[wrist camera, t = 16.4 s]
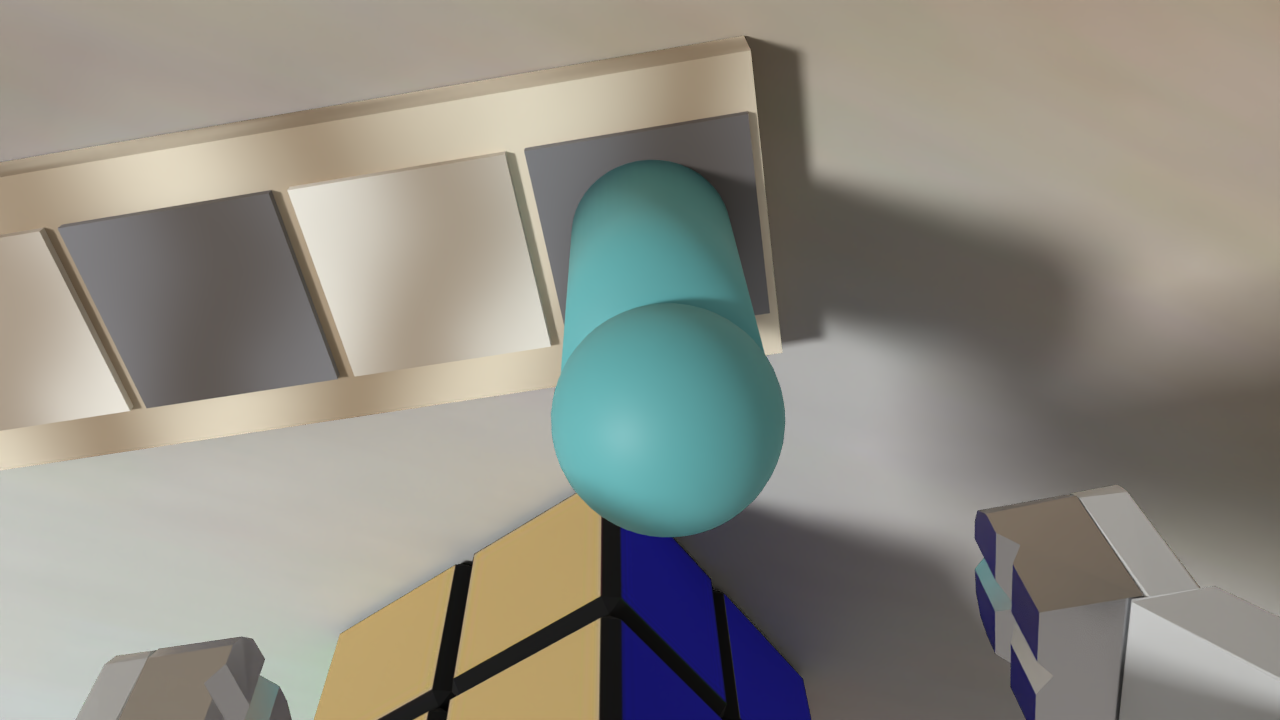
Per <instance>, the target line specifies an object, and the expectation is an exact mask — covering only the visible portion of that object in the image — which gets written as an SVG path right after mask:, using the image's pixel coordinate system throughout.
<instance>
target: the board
mask: <svg viewBox="0 0 1280 720" xmlns="http://www.w3.org/2000/svg"><path fill="white" fill-rule="evenodd" d="M642 160H663V161H670V162H674V163H677V164H681V165H683V166H685V167H688V168H690V169H692V170H693V171H695V172H697V173H699V174H700V175H701V176H702V177H704V178H705V179H706V180H707V181H708V182H709V183H710V184H711V185H712V186H713V187H714V188H715V189H716V191H717V192H718V193H719V195H720V196H721V198H722V200H723V202H724V204H725V207H726V209H727V212H728V215H729V219H730V223H731V227H732V231H733V234H734V238H735V242H736V246H737V250H738V253H739V257H740V261H741V265H742V269H743V273H744V276H745V280H746V284H747V288H748V292H749V295H750V299H751V303H752V307H753V311H754V314H755V318H756V322H757V326H758V330H759V333H760V337H761V341H762V345H763V349H764V352H765V355H771V354H778V353H782V344H781V335H780V325H779V316H778V306H777V297H776V287H775V277H774V268H773V258H772V249H771V239H770V230H769V220H768V210H767V201H766V191H765V182H764V172H763V163H762V153H761V143H760V134H759V124H758V115H757V105H756V96H755V86H754V76H753V67H752V57H751V50H750V48H749V45H748V43H747V41H746V39H745V37H744V36H740V37H734V38H728V39H722V40H716V41H710V42H704V43H698V44H693V45H687V46H681V47H675V48H669V49H663V50H657V51H651V52H646V53H640V54H634V55H628V56H622V57H616V58H610V59H604V60H599V61H593V62H587V63H581V64H575V65H569V66H563V67H557V68H552V69H546V70H540V71H534V72H528V73H522V74H516V75H510V76H505V77H499V78H493V79H487V80H481V81H475V82H469V83H463V84H458V85H452V86H446V87H440V88H434V89H428V90H422V91H416V92H411V93H405V94H399V95H393V96H387V97H381V98H375V99H369V100H364V101H358V102H352V103H346V104H340V105H334V106H328V107H322V108H317V109H311V110H305V111H299V112H293V113H287V114H281V115H275V116H270V117H264V118H258V119H252V120H246V121H240V122H234V123H228V124H223V125H217V126H211V127H205V128H199V129H193V130H187V131H181V132H176V133H170V134H164V135H158V136H152V137H146V138H140V139H134V140H129V141H123V142H117V143H111V144H105V145H99V146H93V147H87V148H82V149H76V150H70V151H64V152H58V153H52V154H46V155H40V156H35V157H29V158H23V159H17V160H11V161H5V162H0V470H6V469H13V468H20V467H26V466H33V465H40V464H46V463H53V462H60V461H66V460H73V459H80V458H86V457H93V456H100V455H106V454H113V453H119V452H126V451H133V450H139V449H146V448H153V447H159V446H166V445H173V444H179V443H186V442H193V441H199V440H206V439H213V438H219V437H226V436H233V435H239V434H246V433H252V432H259V431H266V430H272V429H279V428H286V427H292V426H299V425H306V424H312V423H319V422H326V421H332V420H339V419H346V418H352V417H359V416H366V415H372V414H379V413H385V412H392V411H399V410H405V409H412V408H419V407H425V406H432V405H439V404H445V403H452V402H459V401H465V400H472V399H479V398H485V397H492V396H498V395H505V394H512V393H518V392H525V391H532V390H538V389H545V388H552V387H556V385H557V382H558V379H559V377H560V375H561V364H562V350H563V337H564V324H565V311H566V298H567V285H568V272H569V258H570V245H571V232H572V224H573V219H574V215H575V211H576V209H577V207H578V204H579V202H580V201H581V199H582V197H583V196H584V194H585V193H586V191H587V190H588V189H589V188H590V187H591V185H592V184H594V183H595V182H596V181H597V180H598V179H599V178H600V177H602V176H603V175H604V174H606V173H607V172H609V171H611V170H613V169H615V168H617V167H619V166H622V165H624V164H627V163H631V162H635V161H642Z"/></svg>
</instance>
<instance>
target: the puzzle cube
mask: <svg viewBox="0 0 1280 720" xmlns="http://www.w3.org/2000/svg"><path fill="white" fill-rule="evenodd" d="M314 720H811V716H810V711H809V706H808V701H807V696H806V691H805V686H804V682H803V679H802V677H801V676H800V675H799V674H798V673H797V672H796V671H795V670H794V669H793V668H792V667H791V666H790V664H789V663H788V662H787V661H786V660H785V659H784V658H783V657H782V656H781V655H780V654H779V653H778V651H777V650H776V649H775V648H774V647H773V646H772V645H771V644H770V643H769V642H768V641H767V640H766V638H765V637H764V636H763V635H762V634H761V633H760V632H759V631H758V630H757V629H756V628H755V627H754V625H753V624H752V623H751V622H750V621H749V620H748V619H747V618H746V617H745V616H744V615H743V614H742V612H741V611H740V610H739V609H738V608H737V607H736V606H735V605H734V604H733V603H732V602H731V601H730V599H729V598H728V597H727V596H726V595H725V594H724V593H722V592H718V591H714V590H712V583H711V579H710V578H709V576H708V575H707V574H706V573H705V572H704V571H703V570H702V569H701V568H700V567H699V566H698V565H697V563H696V562H695V561H694V560H693V559H692V558H691V557H690V556H689V555H688V554H687V553H686V552H685V550H684V549H683V548H682V547H681V546H680V545H679V544H678V543H677V542H676V541H675V540H674V539H673V537H655V536H647V535H643V534H638V533H635V532H632V531H629V530H626V529H624V528H621V527H619V526H617V525H615V524H613V523H612V522H610V521H608V520H607V519H605V518H603V517H601V516H600V515H599V514H597V513H596V512H595V511H594V510H592V509H591V508H590V507H589V506H588V505H587V504H586V503H585V502H584V501H583V500H582V499H581V498H580V496H579V495H578V494H577V493H575V494H574V495H572V496H570V497H569V498H567V499H565V500H564V501H562V502H560V503H559V504H557V505H555V506H554V507H552V508H550V509H549V510H547V511H545V512H544V513H542V514H540V515H539V516H537V517H535V518H534V519H532V520H530V521H529V522H527V523H525V524H524V525H522V526H520V527H519V528H517V529H515V530H514V531H512V532H510V533H509V534H507V535H505V536H504V537H502V538H500V539H499V540H497V541H495V542H494V543H492V544H490V545H489V546H487V547H485V548H484V549H482V550H480V551H479V552H477V553H475V554H474V557H473V563H472V566H469V565H466V564H458V565H454V566H453V567H451V568H449V569H448V570H446V571H444V572H443V573H441V574H439V575H438V576H436V577H434V578H433V579H431V580H429V581H428V582H426V583H424V584H423V585H421V586H419V587H418V588H416V589H414V590H413V591H411V592H409V593H408V594H406V595H404V596H403V597H401V598H399V599H398V600H396V601H394V602H393V603H391V604H389V605H388V606H386V607H384V608H383V609H381V610H379V611H378V612H376V613H374V614H373V615H371V616H369V617H368V618H366V619H364V620H363V621H361V622H359V623H358V624H356V625H354V626H353V627H351V628H349V629H348V630H346V631H344V632H343V633H341V634H340V636H339V639H338V642H337V645H336V649H335V652H334V655H333V658H332V662H331V665H330V668H329V672H328V675H327V678H326V681H325V685H324V688H323V691H322V694H321V698H320V701H319V704H318V708H317V711H316V714H315V717H314Z"/></svg>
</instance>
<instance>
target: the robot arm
mask: <svg viewBox="0 0 1280 720" xmlns="http://www.w3.org/2000/svg"><path fill="white" fill-rule="evenodd" d="M975 540H976V542H977V544H978V546H979V548H980V550H981V552H982V554H983V556H984V558H983V560H982V561H981V562H980V563H979V565H978V566H977V567H976V568H975V581H976V595H977V600H978V605H979V610H980V616H981V619H982V622H983V625H984V628H985V631H986V634H987V636H988V638H989V641H990V643H991V645H992V647H993V650H994V652H995V654H997V655H998V656H1000V657H1001V658H1003V659H1005V660H1006V661H1008V662H1009V663H1011V689H1012V691H1013V693H1014V695H1015V697H1016V699H1017V701H1018V703H1019V706H1020V708H1021V710H1022V712H1023V714H1024V716H1025V718H1026V720H1280V617H1278V616H1276V615H1274V614H1272V613H1270V612H1268V611H1266V610H1264V609H1262V608H1260V607H1258V606H1255V605H1253V604H1251V603H1249V602H1247V601H1245V600H1243V599H1241V598H1239V597H1237V596H1235V595H1233V594H1231V593H1228V592H1226V591H1224V590H1222V589H1220V588H1218V587H1216V586H1212V587H1206V588H1200V587H1199V585H1198V584H1197V583H1196V581H1195V580H1194V579H1193V577H1192V576H1191V575H1190V574H1189V572H1188V571H1187V570H1186V568H1185V567H1184V566H1183V564H1182V563H1181V562H1180V560H1179V559H1178V558H1177V556H1176V555H1175V554H1174V552H1173V551H1172V550H1171V548H1170V547H1169V546H1168V544H1167V543H1166V542H1165V541H1164V539H1163V538H1162V537H1161V535H1160V534H1159V533H1158V531H1157V530H1156V529H1155V527H1154V526H1153V525H1152V523H1151V522H1150V521H1149V519H1148V518H1147V517H1146V515H1145V514H1144V513H1143V511H1142V510H1141V509H1140V508H1139V506H1138V505H1137V504H1136V502H1135V501H1134V500H1133V498H1132V497H1131V496H1130V494H1129V493H1128V492H1127V490H1126V489H1124V488H1122V487H1120V486H1119V485H1112V486H1107V487H1101V488H1096V489H1091V490H1085V491H1080V492H1075V493H1071V494H1070V495H1061V496H1056V497H1050V498H1045V499H1039V500H1033V501H1028V502H1022V503H1017V504H1011V505H1006V506H1000V507H994V508H989V509H983V510H978V511H977V515H976V518H975ZM264 661H265V658H264V656H263V655H262V653H261V651H260V650H259V648H258V646H257V645H256V643H255V641H254V640H253V639H252V638H246V637H236V638H229V639H222V640H215V641H209V642H202V643H195V644H188V645H181V646H174V647H168V648H161V649H158V650H155V651H148V652H140V653H133V654H126V655H119V656H116V657H114V658H113V659H112V660H110V661H109V662H108V663H106V664H105V665H104V666H103V668H102V670H101V672H100V674H99V676H98V678H97V679H96V681H95V683H94V685H93V687H92V689H91V691H90V693H89V695H88V697H87V699H86V700H85V702H84V704H83V706H82V708H81V710H80V712H79V714H78V716H77V718H76V720H292V719H291V715H290V711H289V707H288V703H287V700H286V698H285V696H284V694H283V692H282V690H281V688H280V686H278V685H276V684H275V683H273V682H271V681H269V680H267V679H266V678H264V677H262V676H260V673H261V670H262V667H263V664H264Z"/></svg>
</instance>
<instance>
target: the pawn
mask: <svg viewBox="0 0 1280 720" xmlns="http://www.w3.org/2000/svg"><path fill="white" fill-rule="evenodd" d="M551 423H552V438H553V443H554V448H555V451H556V455H557V458H558V461H559V464H560V466H561V468H562V470H563V472H564V474H565V476H566V478H567V479H568V481H569V483H570V485H571V486H572V488H573V489H574V490H575V492H576V493H577V494H578V495H579V496H580V498H581V499H582V500H583V501H584V502H585V503H586V504H587V505H588V506H589V507H590V508H591V509H592V510H594V511H595V512H596V513H597V514H599V515H600V516H601V517H603V518H605V519H607V520H608V521H610V522H612V523H613V524H615V525H617V526H619V527H621V528H624V529H626V530H629V531H632V532H635V533H638V534H643V535H647V536H655V537H681V536H689V535H694V534H698V533H702V532H705V531H708V530H711V529H713V528H715V527H718V526H720V525H722V524H724V523H725V522H727V521H729V520H731V519H732V518H733V517H735V516H736V515H738V514H739V513H740V512H741V511H743V510H744V509H745V508H746V507H747V506H748V505H749V504H750V503H752V502H753V501H754V500H755V498H756V497H757V496H758V495H759V494H760V492H761V491H762V490H763V488H764V487H765V485H766V483H767V482H768V480H769V479H770V477H771V475H772V474H773V471H774V469H775V467H776V464H777V462H778V459H779V456H780V453H781V449H782V445H783V439H784V430H785V408H784V402H783V397H782V392H781V387H780V385H779V382H778V380H777V377H776V374H775V372H774V369H773V367H772V366H771V364H770V362H769V360H768V359H767V357H766V355H765V352H764V349H763V345H762V341H761V337H760V333H759V330H758V326H757V322H756V318H755V314H754V311H753V307H752V303H751V299H750V295H749V292H748V288H747V284H746V280H745V276H744V273H743V269H742V265H741V261H740V257H739V253H738V250H737V246H736V242H735V238H734V234H733V231H732V227H731V223H730V219H729V215H728V212H727V209H726V207H725V204H724V202H723V200H722V198H721V196H720V195H719V193H718V192H717V191H716V189H715V188H714V187H713V186H712V185H711V184H710V183H709V182H708V181H707V180H706V179H705V178H704V177H702V176H701V175H700V174H699V173H697V172H695V171H693V170H692V169H690V168H688V167H685V166H683V165H681V164H677V163H674V162H670V161H663V160H642V161H635V162H631V163H627V164H624V165H622V166H619V167H617V168H615V169H613V170H611V171H609V172H607V173H606V174H604V175H603V176H602V177H600V178H599V179H598V180H597V181H596V182H595V183H594V184H592V185H591V187H590V188H589V189H588V190H587V191H586V193H585V194H584V196H583V197H582V199H581V201H580V202H579V204H578V207H577V209H576V211H575V215H574V219H573V224H572V232H571V245H570V258H569V272H568V285H567V298H566V311H565V324H564V337H563V350H562V364H561V375H560V377H559V379H558V382H557V385H556V389H555V392H554V397H553V403H552V411H551Z"/></svg>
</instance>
